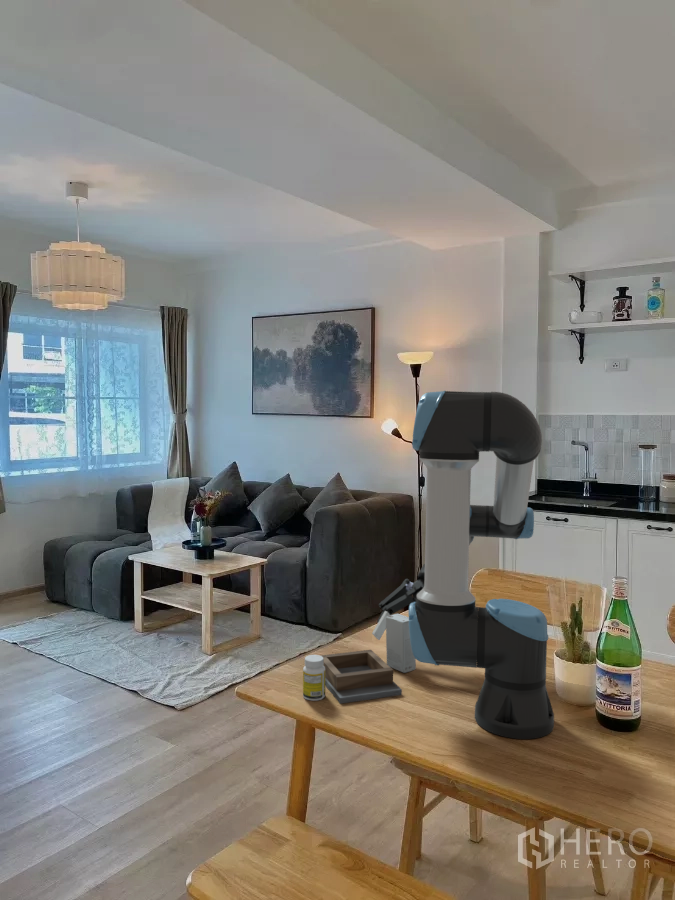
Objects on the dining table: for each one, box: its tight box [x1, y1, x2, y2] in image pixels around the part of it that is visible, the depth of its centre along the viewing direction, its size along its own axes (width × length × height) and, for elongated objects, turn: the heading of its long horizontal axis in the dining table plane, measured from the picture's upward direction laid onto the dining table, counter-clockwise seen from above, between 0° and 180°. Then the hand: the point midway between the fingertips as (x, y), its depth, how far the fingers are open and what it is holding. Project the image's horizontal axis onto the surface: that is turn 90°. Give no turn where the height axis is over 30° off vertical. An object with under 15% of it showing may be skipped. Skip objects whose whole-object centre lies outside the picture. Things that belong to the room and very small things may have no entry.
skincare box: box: [385, 613, 417, 674], centre depth 164 cm, size 6×4×12 cm
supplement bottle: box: [302, 654, 326, 702], centre depth 148 cm, size 5×5×8 cm
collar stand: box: [320, 649, 403, 704], centre depth 156 cm, size 20×14×4 cm
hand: (396, 644), depth 163 cm, fingers open, 13 cm apart
